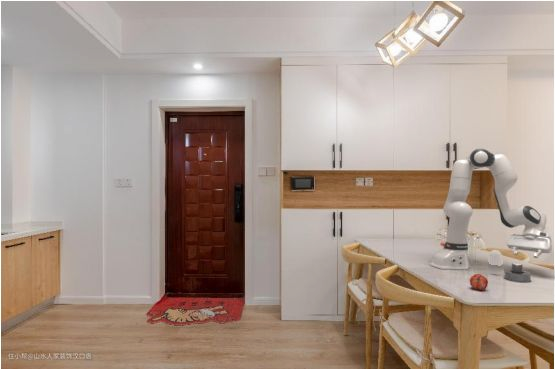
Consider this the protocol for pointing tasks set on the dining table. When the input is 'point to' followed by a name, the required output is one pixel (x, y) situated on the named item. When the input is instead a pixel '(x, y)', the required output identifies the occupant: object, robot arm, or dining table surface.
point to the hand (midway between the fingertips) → (525, 255)
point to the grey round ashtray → (517, 276)
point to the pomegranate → (478, 282)
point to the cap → (516, 268)
